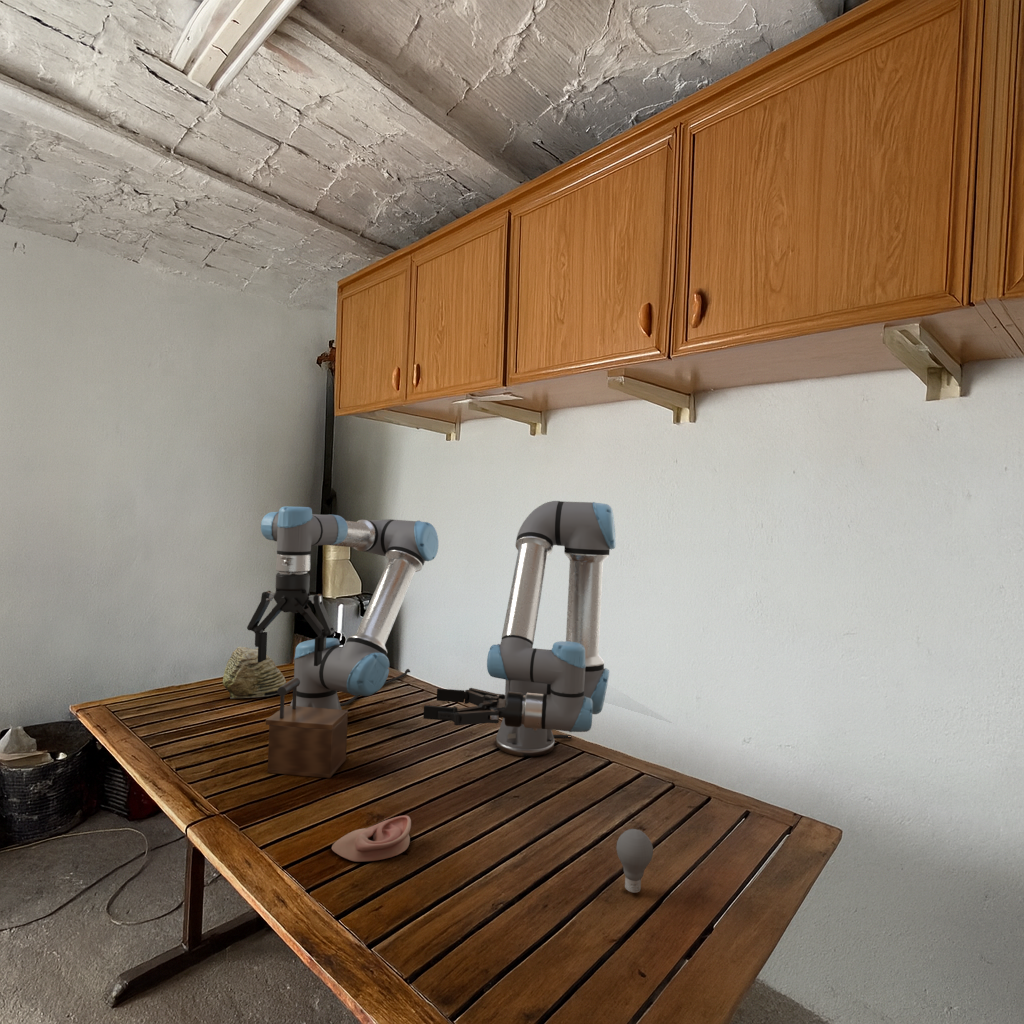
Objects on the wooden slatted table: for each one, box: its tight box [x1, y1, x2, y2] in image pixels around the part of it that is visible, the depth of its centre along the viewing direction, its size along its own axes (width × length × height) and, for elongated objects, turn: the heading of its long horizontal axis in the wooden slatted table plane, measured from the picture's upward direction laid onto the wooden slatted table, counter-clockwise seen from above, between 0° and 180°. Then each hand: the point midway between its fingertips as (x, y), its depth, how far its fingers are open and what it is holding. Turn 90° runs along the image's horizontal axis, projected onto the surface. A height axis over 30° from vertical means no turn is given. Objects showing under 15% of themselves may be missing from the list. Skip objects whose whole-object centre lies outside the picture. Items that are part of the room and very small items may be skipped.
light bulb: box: [615, 828, 654, 894], centre depth 106 cm, size 6×6×10 cm
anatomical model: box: [331, 814, 412, 863], centre depth 116 cm, size 13×4×12 cm
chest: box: [267, 714, 349, 779], centre depth 148 cm, size 15×10×11 cm
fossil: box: [222, 646, 287, 699], centre depth 198 cm, size 9×18×15 cm, turn 132°
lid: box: [265, 677, 349, 730], centre depth 148 cm, size 16×10×8 cm, turn 85°
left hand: (289, 662), depth 148 cm, fingers open, 13 cm apart
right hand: (430, 702), depth 145 cm, fingers open, 13 cm apart
